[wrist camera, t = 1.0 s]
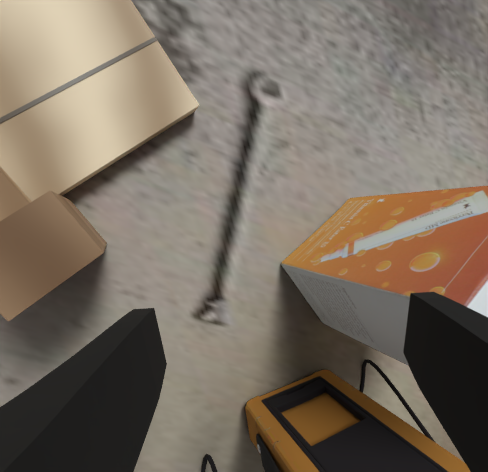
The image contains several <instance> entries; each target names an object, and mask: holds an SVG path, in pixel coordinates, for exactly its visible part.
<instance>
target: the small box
mask: <svg viewBox="0 0 488 472" xmlns="http://www.w3.org/2000/svg"><path fill="white" fill-rule="evenodd" d="M281 265H282V267H283V268H284V269H285V271H286V272H287V274H288V275H289V276H290V278H291V279H292V281H293V282H294V283H295V285H296V286H297V288H298V289H299V290H300V292H301V293H302V295H303V296H304V298H305V299H306V300H307V302H308V303H309V305H310V306H311V307H312V309H313V310H314V312H315V313H316V314H317V316H318V317H319V319H320V320H321V322H322V323H324V324H325V325H327V326H329V327H331V328H333V329H335V330H337V331H339V332H341V333H343V334H345V335H347V336H349V337H351V338H353V339H355V340H357V341H359V342H361V343H363V344H366V345H368V346H370V347H371V348H374V349H376V350H378V351H380V352H382V353H384V354H386V355H388V356H390V357H392V358H394V359H396V360H398V361H400V362H402V363H404V364H406V365H408V366H409V364H408V362H407V360H406V358H405V355H404V353H403V350H404V342H405V334H406V326H407V318H408V309H409V301H410V293H420V292H435V293H438V294H440V295H443V296H445V297H447V298H449V299H452V300H454V301H456V302H458V303H460V304H462V305H464V306H466V307H468V308H470V309H472V310H474V311H476V312H478V313H480V314H482V315H484V316H486V317H488V186H479V187H468V188H457V189H445V190H434V191H423V192H413V193H401V194H390V195H378V196H366V197H356V198H350V199H348V200H347V201H346V202H345V204H344V205H343V206H342V207H341V208H340V209H339V210H338V211H337V212H336V213H335V214H334V215H333V216H331V217H330V218H329V219H328V220H327V221H326V222H325V223H324V224H323V225H322V226H321V227H320V228H319V229H318V230H317V231H316V232H315V233H313V234H312V235H311V236H310V237H309V238H308V239H307V240H306V241H305V242H304V243H302V244H301V245H300V246H299V247H298V248H297V249H296V250H295V251H294V252H293V253H291V254H290V255H289V256H288V257H287V258H286V259H285V260H284V261H282V263H281Z"/></svg>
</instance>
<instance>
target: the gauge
mask: <svg viewBox="0 0 488 472" xmlns="http://www.w3.org/2000/svg"><path fill="white" fill-rule="evenodd" d="M106 244H107V243H106V242H105V240H104V239H103V238H102V237H101V236H100V235H99V233H98V232H97V231H96V230H95V229H94V227H93V226H92V225H91V224H90V223H89V222H88V220H87V219H86V218H85V217H84V216H83V215H82V213H81V212H80V211H79V210H78V209H77V208H76V206H75V205H74V204H73V203H72V202H71V200H69V199H67V198H65V197H63V196H61V195H59V194H57V193H54V192H52V191H48V192H47V193H45V194H43V195H42V196H40V197H38V198H37V199H35V200H34V201H31V200H30V199H29V198H28V197H27V196H26V195H25V193H24V192H23V191H22V190H21V189H20V188H19V187H18V186H17V184H16V183H15V182H14V181H13V180H12V179H11V178H10V177H9V175H8V174H7V173H6V172H5V171H4V170H3V169H2V168H1V167H0V314H1V315H2V316H3V317H4V318H5V319H6V320H7V321H8V322H9V321H10V320H11V319H13V318H14V317H15V316H17V315H18V314H20V313H21V312H22V311H24V310H25V309H27V308H28V307H29V306H31V305H32V304H33V303H35V302H36V301H38V300H39V299H40V298H42V297H43V296H45V295H46V294H47V293H49V292H50V291H52V290H53V289H54V288H56V287H57V286H58V285H60V284H61V283H63V282H64V281H65V280H67V279H68V278H70V277H71V276H72V275H74V274H75V273H76V272H78V271H79V270H81V269H82V268H83V267H85V266H86V265H88V264H89V263H90V262H92V261H93V260H94V259H96V258H97V257H99V256H100V255H101V254H103V253H104V250H105V247H106Z"/></svg>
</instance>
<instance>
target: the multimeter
mask: <svg viewBox="0 0 488 472" xmlns="http://www.w3.org/2000/svg"><path fill="white" fill-rule="evenodd" d="M366 363H370V364H371V365H372V366H373V367H374V368H375V369H376V370H377V371H378V372H379V373H380V374H381V376H382V377H383V378H384V379H385V381H386V382H387V383H388V385H389V386H390V387H391V389H392V390H393V391H394V392H395V394H396V395H397V396H398V398H399V399H400V401H401V402H402V404H403V405H404V406H405V408H406V409H407V411H408V412H409V413H410V415H411V416H412V418H413V419H414V420H415V422H416V423H417V425H418V426H419V428H420V429H421V430H422V432H423V433H424V435H423V434H422V433H421V432H419V431H418V430H416V429H415V428H413V427H412V426H410V425H409V424H407V423H406V422H405V421H403V420H402V419H400V418H399V417H397V416H396V415H394V414H393V413H391V412H390V411H388V410H387V409H385V408H384V407H382V406H381V405H379V404H378V403H377V402H375V401H374V400H372V399H371V398H369V397H368V396H366V395H365V394H363V389H364V381H365V367H366ZM245 410H246V416H247V422H248V429H249V435H250V440H251V441H252V442H253V444H254V445H255V447H256V449H257V450H258V452H259V454H260V455H261V458H262V464H263V467H264V469H265V472H471V471H470V470H469V468H468V466H467V465H466V463H464V462H463V461H461V460H460V459H458V458H457V457H455V456H454V455H453V454H451V453H450V452H448V451H447V450H445V449H444V448H442V447H441V446H439V445H438V444H437V443H435V441H434V440H433V438H432V437H431V436H430V434H429V433H428V432H427V430H426V429H425V427H424V426H423V425H422V423H421V422H420V420H419V419H418V418H417V416H416V415H415V414H414V412H413V411H412V409H411V408H410V407H409V405H408V404H407V403H406V401H405V400H404V398H403V397H402V396H401V394H400V393H399V392H398V390H397V389H396V388H395V386H394V385H393V384H392V383H391V381H390V380H389V379H388V378H387V376H386V375H385V374H384V373H383V372H382V371H381V369H380V368H379V367H378V366H377V365H376V364H375V363H373V362H372V361H371V360H364V362H363V366H362V379H361V387H360V391H359V390H357V389H356V388H354V387H353V386H351V385H350V384H348V383H347V382H345V381H344V380H342V379H341V378H339V377H338V376H336V375H335V374H333V373H332V372H331V371H329V370H321V371H318V372H315V373H313V375H311V376H308V377H306V378H304V379H301V380H299V381H296V382H294V383H291V384H289V385H287V386H284V387H282V388H279V389H277V390H275V391H272V392H270V393H267V394H265V395H262V396H260V397H259V396H257V397H254V398H252V399H250V400H249V401H248V402H247V404H246V406H245ZM207 460H208V461H209V463H210V465H211V468H212V471H213V472H217V469H216V466H215V464H214V461H213V459H212V457H211V456H210V455H208V454H206V455H205V457H204V460H203V464H202V472H205V469H206V464H207Z"/></svg>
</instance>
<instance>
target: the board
mask: <svg viewBox="0 0 488 472" xmlns="http://www.w3.org/2000/svg"><path fill="white" fill-rule="evenodd" d="M198 107H199V104H198V102H197V101H196V99H195V98H194V96H193V95H192V93H191V92H190V90H189V89H188V87H187V85H186V84H185V82H184V81H183V79H182V78H181V76H180V75H179V73H178V72H177V70H176V69H175V67H174V66H173V64H172V62H171V61H170V59H169V58H168V56H167V55H166V53H165V52H164V50H163V49H162V47H161V46H160V44H159V42H158V41H157V39H156V37H155V36H154V35H153V33H152V32H151V30H150V29H149V27H148V26H147V24H146V23H145V21H144V19H143V18H142V16H141V15H140V13H139V12H138V10H137V9H136V7H135V6H134V4H133V3H132V1H131V0H0V167H1V168H2V169H3V170H4V171H5V172H6V173H7V174H8V175H9V177H10V178H11V179H12V180H13V181H14V182H15V183H16V184H17V186H18V187H19V188H20V189H21V190H22V191H23V192H24V193H25V195H26V196H27V197H28V198H29V199H30V200H31V201H34V200H35V199H37V198H38V197H40V196H42V195H43V194H45V193H47V192H48V191H52V192H54V193H57V194H59V195H61V196H63V195H64V194H66V193H68V192H69V191H71V190H72V189H74V188H75V187H77V186H79V185H80V184H82V183H83V182H85V181H86V180H88V179H90V178H91V177H93V176H94V175H96V174H97V173H99V172H101V171H102V170H104V169H105V168H107V167H108V166H110V165H112V164H113V163H115V162H116V161H118V160H119V159H121V158H123V157H124V156H126V155H127V154H129V153H130V152H132V151H134V150H135V149H137V148H138V147H140V146H142V145H143V144H145V143H146V142H148V141H149V140H151V139H153V138H154V137H156V136H157V135H159V134H160V133H162V132H164V131H165V130H167V129H168V128H170V127H171V126H173V125H175V124H176V123H178V122H179V121H181V120H182V119H184V118H186V117H187V116H189V115H190V114H192V113H193V112H195V111H196V109H197V108H198Z"/></svg>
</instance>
